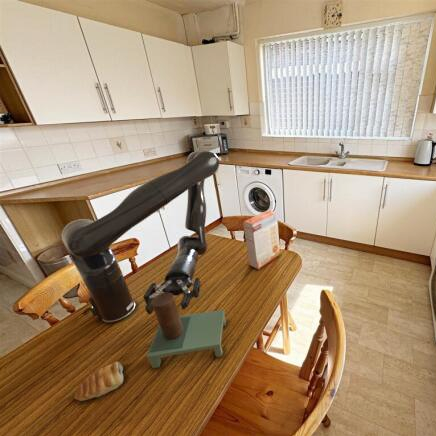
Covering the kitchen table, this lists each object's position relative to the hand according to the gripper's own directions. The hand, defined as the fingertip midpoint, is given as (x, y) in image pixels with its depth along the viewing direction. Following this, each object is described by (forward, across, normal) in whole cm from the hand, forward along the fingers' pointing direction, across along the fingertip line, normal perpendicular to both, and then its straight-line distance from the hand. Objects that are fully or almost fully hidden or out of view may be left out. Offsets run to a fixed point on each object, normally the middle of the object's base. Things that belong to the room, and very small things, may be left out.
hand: (166, 309), depth 62 cm
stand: (0, +4, +13) cm, 14 cm away
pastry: (+8, -15, +14) cm, 22 cm away
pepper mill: (0, 0, +8) cm, 8 cm away
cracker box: (-37, +27, +14) cm, 48 cm away
